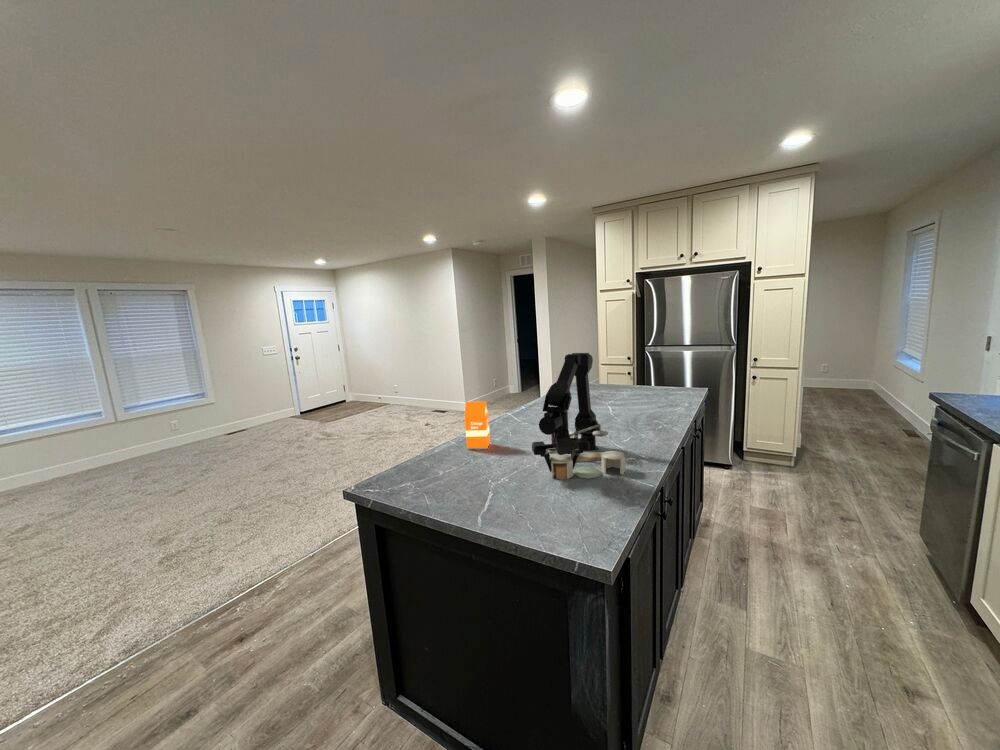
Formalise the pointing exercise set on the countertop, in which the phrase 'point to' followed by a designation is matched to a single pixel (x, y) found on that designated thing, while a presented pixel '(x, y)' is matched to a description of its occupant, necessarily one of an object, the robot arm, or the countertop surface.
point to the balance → (589, 455)
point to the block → (560, 470)
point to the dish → (587, 472)
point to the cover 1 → (561, 460)
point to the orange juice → (477, 425)
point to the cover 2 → (613, 460)
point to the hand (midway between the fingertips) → (561, 470)
